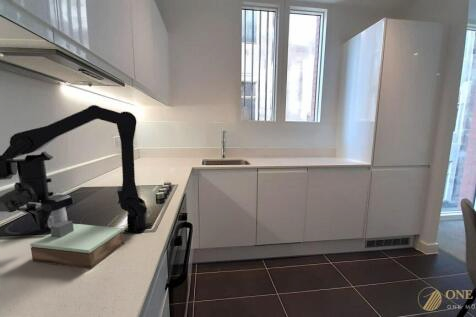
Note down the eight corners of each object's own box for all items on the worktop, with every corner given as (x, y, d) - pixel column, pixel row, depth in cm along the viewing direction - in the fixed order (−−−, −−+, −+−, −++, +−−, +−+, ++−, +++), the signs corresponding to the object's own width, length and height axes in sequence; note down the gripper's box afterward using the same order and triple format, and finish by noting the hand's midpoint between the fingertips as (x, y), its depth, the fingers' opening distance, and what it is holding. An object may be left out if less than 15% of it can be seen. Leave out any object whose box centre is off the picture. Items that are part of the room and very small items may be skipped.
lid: (72, 226, 70) (70, 214, 69) (122, 230, 66) (121, 218, 66) (30, 246, 58) (28, 232, 58) (89, 253, 55) (87, 238, 54)
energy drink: (65, 221, 83) (61, 190, 82) (69, 225, 80) (65, 193, 78) (47, 226, 79) (42, 194, 78) (50, 230, 76) (45, 197, 74)
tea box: (73, 238, 70) (72, 226, 70) (124, 243, 67) (122, 231, 67) (32, 261, 59) (30, 247, 58) (91, 269, 55) (89, 254, 55)
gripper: (-32, 183, 56) (-20, 240, 58) (28, 186, 53) (38, 247, 55) (19, 173, 67) (27, 222, 69) (71, 175, 63) (77, 226, 66)
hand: (41, 229), depth 64 cm, fingers closed
